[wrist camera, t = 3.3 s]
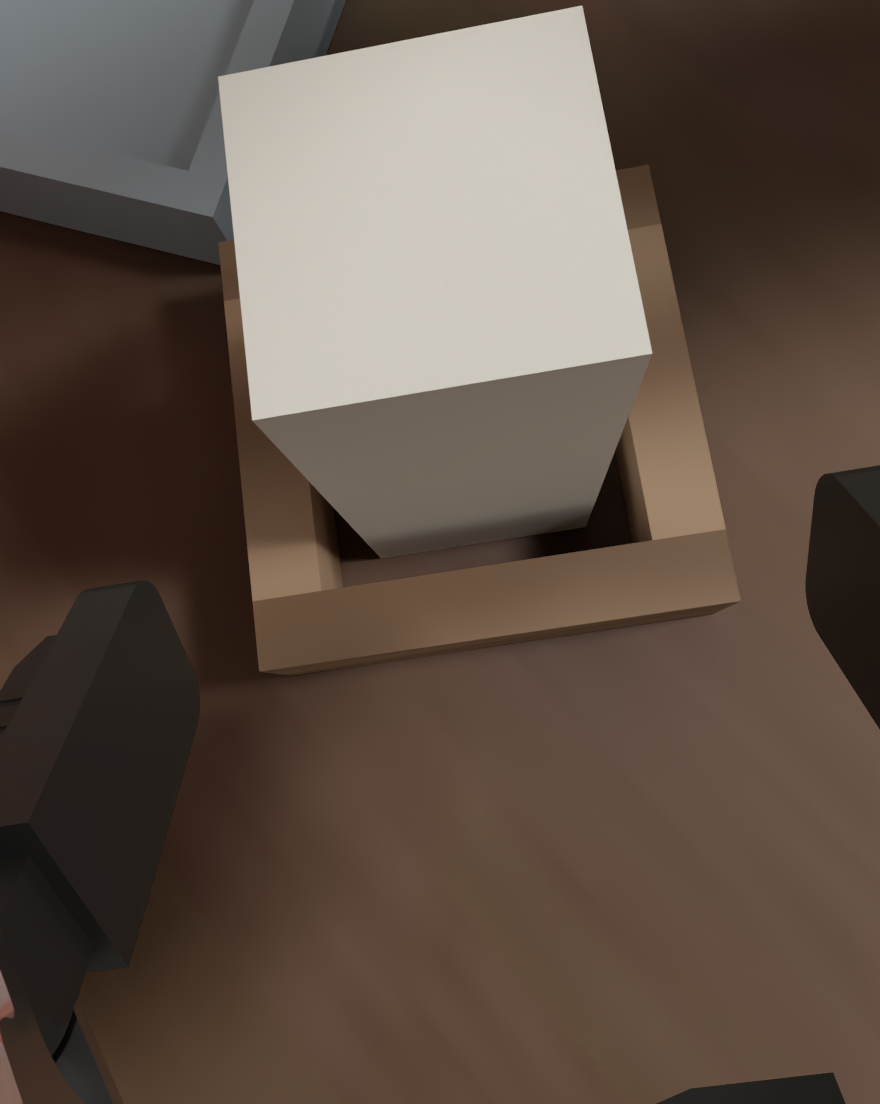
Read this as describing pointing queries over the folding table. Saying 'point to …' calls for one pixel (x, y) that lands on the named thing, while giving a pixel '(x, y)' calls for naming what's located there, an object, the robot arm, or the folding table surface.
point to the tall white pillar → (437, 279)
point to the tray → (135, 110)
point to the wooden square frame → (507, 588)
